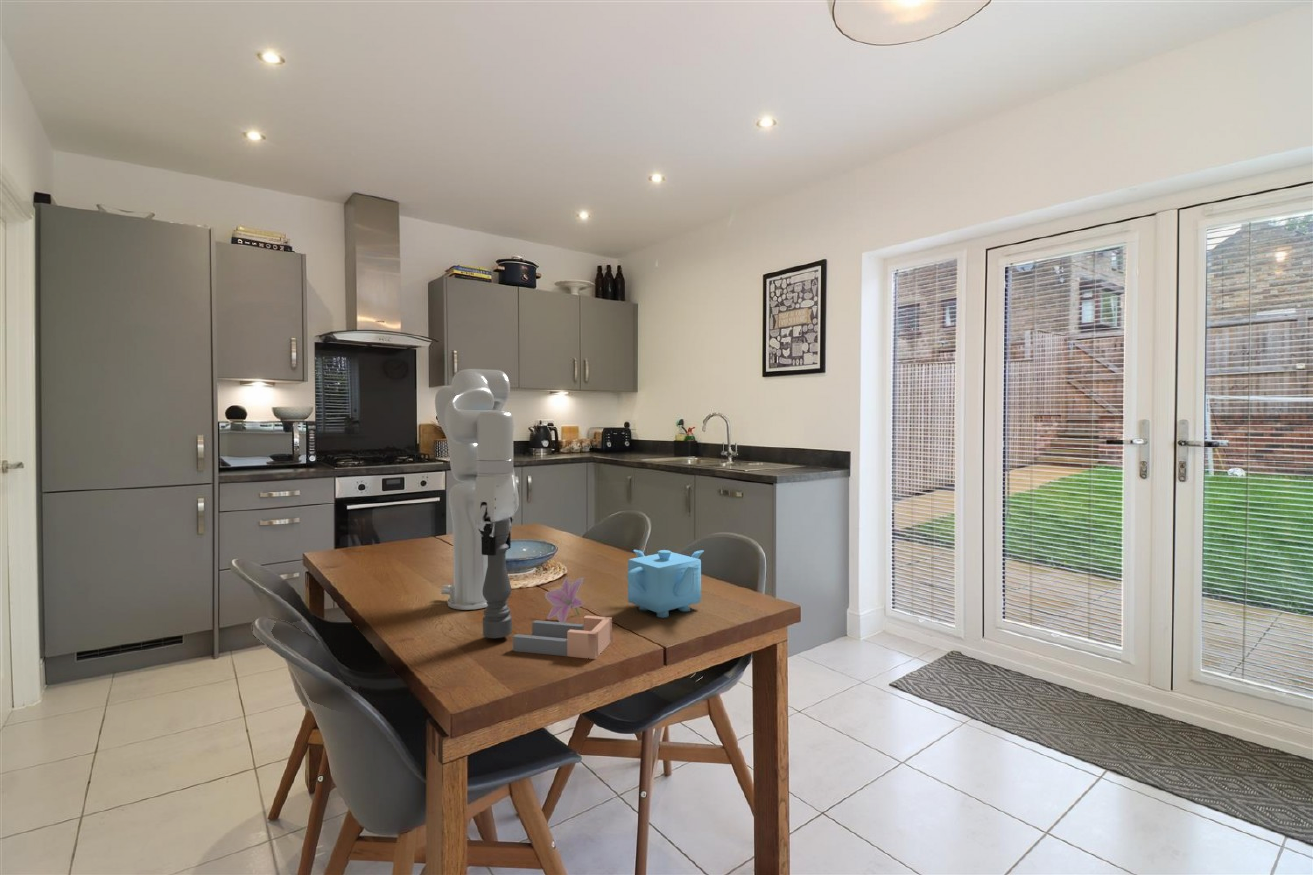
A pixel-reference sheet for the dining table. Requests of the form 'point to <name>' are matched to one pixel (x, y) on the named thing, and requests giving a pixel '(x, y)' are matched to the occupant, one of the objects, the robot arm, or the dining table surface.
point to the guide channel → (567, 638)
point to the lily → (564, 599)
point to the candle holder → (497, 587)
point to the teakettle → (664, 581)
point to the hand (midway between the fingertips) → (496, 550)
